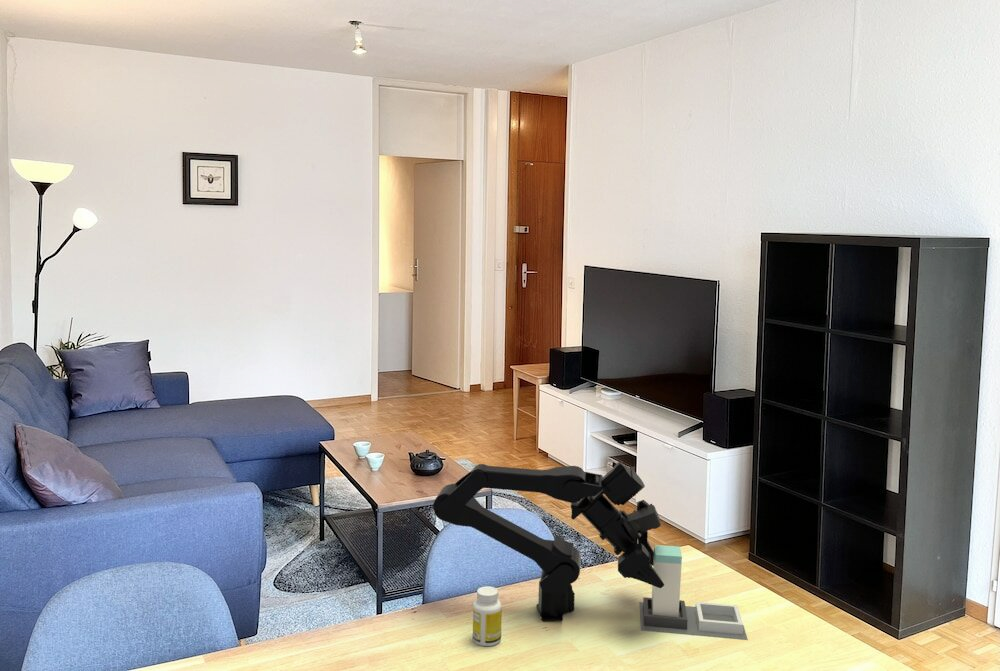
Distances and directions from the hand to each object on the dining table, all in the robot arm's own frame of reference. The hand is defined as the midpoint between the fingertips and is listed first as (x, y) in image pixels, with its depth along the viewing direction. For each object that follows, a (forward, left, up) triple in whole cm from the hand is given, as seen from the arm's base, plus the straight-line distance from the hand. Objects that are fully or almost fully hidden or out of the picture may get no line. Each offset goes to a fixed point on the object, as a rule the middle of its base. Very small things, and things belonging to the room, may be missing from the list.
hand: (661, 576), depth 162 cm
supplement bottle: (-35, -3, -10) cm, 37 cm away
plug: (+1, 0, -9) cm, 9 cm away
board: (+6, -2, -10) cm, 11 cm away
